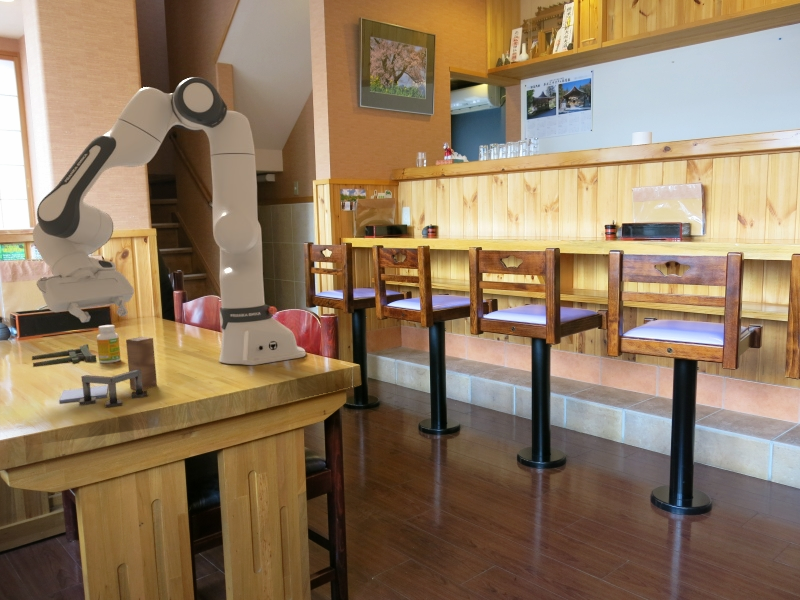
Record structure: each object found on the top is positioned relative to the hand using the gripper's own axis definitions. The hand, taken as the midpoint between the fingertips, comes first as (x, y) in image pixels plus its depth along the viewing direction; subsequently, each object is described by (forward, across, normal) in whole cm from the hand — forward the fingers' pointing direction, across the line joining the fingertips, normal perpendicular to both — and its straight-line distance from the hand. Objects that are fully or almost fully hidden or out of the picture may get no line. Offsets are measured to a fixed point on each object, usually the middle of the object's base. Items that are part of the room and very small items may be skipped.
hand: (105, 317), depth 152 cm
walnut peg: (+19, +1, +3) cm, 19 cm away
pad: (+14, -10, +8) cm, 19 cm away
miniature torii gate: (-17, +12, +40) cm, 45 cm away
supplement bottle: (-6, +15, +28) cm, 32 cm away
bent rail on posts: (+22, -10, 0) cm, 24 cm away
